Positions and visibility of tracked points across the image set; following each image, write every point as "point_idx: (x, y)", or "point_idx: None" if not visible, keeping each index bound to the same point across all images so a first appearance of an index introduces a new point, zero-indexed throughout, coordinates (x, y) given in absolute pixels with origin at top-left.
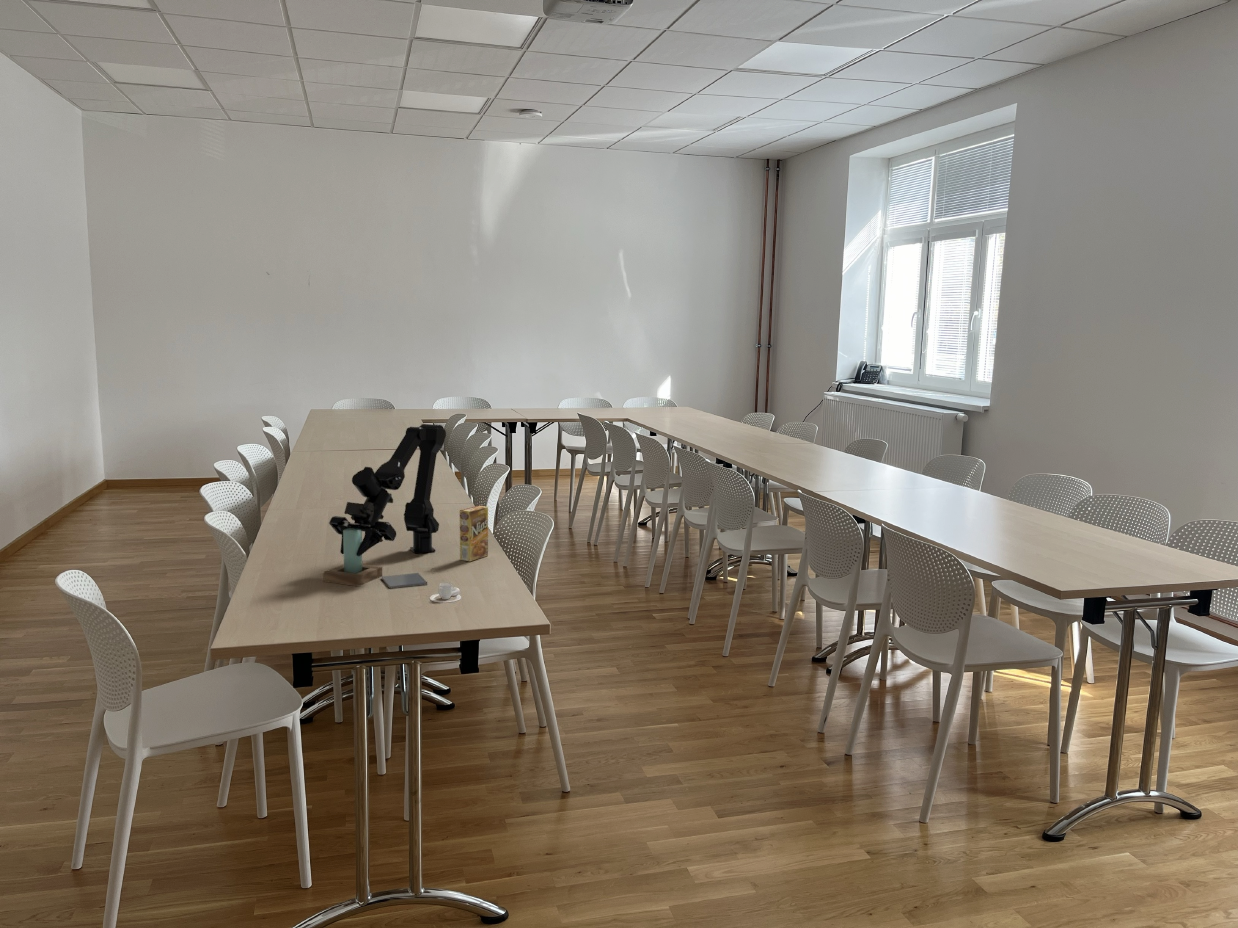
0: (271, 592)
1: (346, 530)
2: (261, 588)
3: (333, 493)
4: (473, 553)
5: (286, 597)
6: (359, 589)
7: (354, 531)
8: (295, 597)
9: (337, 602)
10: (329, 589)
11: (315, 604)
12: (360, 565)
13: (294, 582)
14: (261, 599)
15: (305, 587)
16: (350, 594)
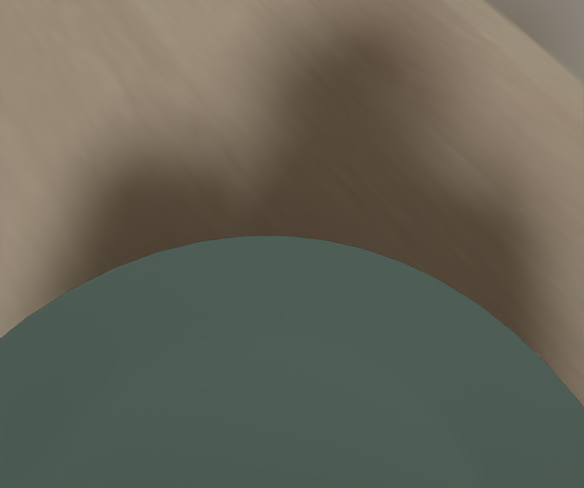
0: (464, 90)
1: (478, 455)
2: (554, 124)
3: None
4: None
5: (348, 52)
6: (39, 263)
7: (60, 437)
8: (310, 59)
9: (63, 44)
10: (235, 204)
11: (156, 6)
12: None
13: (515, 254)
14: (419, 14)
15: (387, 195)
16: (54, 162)
